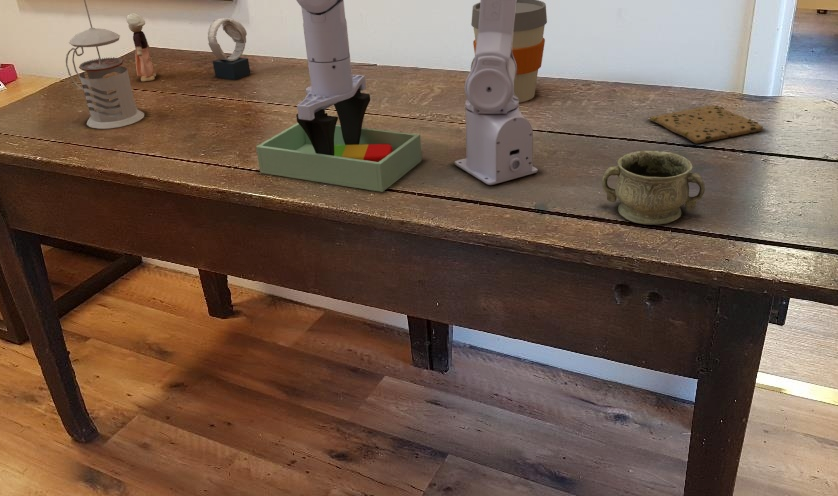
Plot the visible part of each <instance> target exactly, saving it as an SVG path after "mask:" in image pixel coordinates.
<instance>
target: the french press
mask: <svg viewBox="0 0 838 496" xmlns="http://www.w3.org/2000/svg"><path fill="white" fill-rule="evenodd" d="M83 3H84V7H85V9H86V13H87V18H88V21H89V25H90V27H89V28H88V29H85V30H83V31H81V32H78V33H77V34H75V35H74V36H73V37H72V38H71V39H70V40H69V42H68V44H69V45H71V46H73V47H72V48H70V49H69V50H68V52H67V53H66V55H65V67H66V70H67V73H68V76H69V78H70V80H71V81H72V82H73V84H74V85H75V86H76V87H78V89H80V90H82V91H83V93H84V97H85V101H86V105H87V109H88V113H89V117H88V119H87V122H86V125H87V126H88V127H89V128H93V129H113V128H121V127H125V126H129V125H132V124H134V123H137V122H140V121H141V120H142V119H143V118H145V113H144V112H143V111H141V110H140V109H139V108H138V107H137V105H136V104H137V103H136V99H135V98H134V97H135V95H134V92H133V87H132V85H131V79H130V75H129V71H128V68H127V67H125V66H122V65H123V63H124V59H122V58H120V57H114V56H113V57H104V58H103V57H102V58H101V55H100V50H99V47H103V46H107V45H108V46H109V45H111V44H114V43H117V42H119V41H120V38H121V35H120V34H118V33H117V32H115V31H113V30H110V29H106V28H95V27H93V25H92V21H91V17H90V13H89V9H88V5H87V1H86V0H83ZM79 48H80V49H81V53H78V49H79ZM84 48H96V52H97V55H98V58H95V59H89V60H87V61H84V62H81V63H80V64H79V66H78V68H79V69H80V70H81V71H83V72H81V73H80V74H79V72H78V70H77V67H76V63H75V55H76V56H77V57H81V56H82V55H84ZM72 51H73V52H72ZM71 52H72V60H71V61H72V65H73V68H74V72H75V74H76V76H77V77H78V78H79V80H80V83H81V85H79V84H78V83H76V81H75V80H74V78H73V77H72V74H71V72H70V68H69V65H68V59H69V55H70V53H71ZM85 72H86V73H87V77H88V78H86V75H85ZM111 73H118V74H116V75H111V76H108V77H107V76H106V75H108V74H111ZM105 76H106V77H105ZM81 86H82V87H81ZM107 92H109V93H107ZM91 95H93V96H91ZM93 102H94V103H95V104H94V103H93ZM96 110H97V111H96Z"/></svg>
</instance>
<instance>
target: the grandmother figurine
mask: <svg viewBox="0 0 838 496" xmlns="http://www.w3.org/2000/svg"><path fill="white" fill-rule="evenodd" d="M126 23H127V24H128V28H129V30H130V31H131V32H132V33H133V34H132V35H133V36H132V40H133V44H134V48H135V51H134V53H135V56H134V57H135V69H136V70H135V71H136V76H137V77H140V81H141V82H151V81H155V80H156V78H155V77H157V74H156V73H155V72H154V66H153V63H152V59H151V57H150V53H149V49H150V45H149V42H148V39H147V37H146V34H145V32H144V31H143V28H144V26H145V25H146V20H145V19H144V18H143V16H141V15H139V14H137V13H130V14H128V15H127V16H126Z"/></svg>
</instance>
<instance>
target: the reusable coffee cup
mask: <svg viewBox="0 0 838 496" xmlns="http://www.w3.org/2000/svg"><path fill="white" fill-rule="evenodd" d="M471 11H472V12H471V23H470V25H471V26H472V28H473V33H474V40H473V43H472V45H473V51H474V53H475V50H476V43H477V36H478V26H479V13H480V2H477V3H475V4H473V5H472V10H471ZM547 23H548V16H547V4H546V3H545V1H542V0H517V2H516V12H515V21H514V31H513V45H512V53H513V56H514V59H515V61H516V65H517V74H516V77H515V80H514V94H515V95H516V97H518V99H519V103H523V102H527V101H530V100H532V99H533V98H534V97H535V95H536V87H537V81H538V74H539V70H540V69H541V67H542V63H543V57H544V50H545V43H546V39H545V37H544V33H545V25H547Z"/></svg>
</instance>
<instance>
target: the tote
mask: <svg viewBox="0 0 838 496" xmlns="http://www.w3.org/2000/svg"><path fill="white" fill-rule="evenodd" d="M362 144H389V145H391V146H392V149H393V152H392V153H390V154H389V155H388V156H386V157H385V158H383V159H382V160H381V161H379V162H374V161H367V160H360V159H353V158H346V157H339V156H332V155H324V154H317V153H315V150H314V148H313V145H312V143H311V141H310V139H309V137H308V136H307V134H306V132H305V131H304V130H303V128H302V127H301V126H300V125H299V123H298V122H296V123H295V124H293V125H291V126H289V127H288V128H286V129H284V130H282V131H281V132H279V133H277V134H275V135H274V136H272V137H270V138H268V139H267V140H265V141H263V142H261V143H260V144H257V145H256V146H255V149H256V155H257V161H258V167H259V172H260V173H261V174H265V175H273V176H279V177H285V178H292V179H298V180H302V181H303V180H304V181H309V182H316V183H317V182H318V183H323V184H330V185H334V186H341V187H349V188H355V189H360V190H367V191H375V192H380V193H383V192H385V190H387V189H389V188H390V187H391V186H392V185H394V184H395V183H396V182H397V181H398V180H400V179H402V177H404V176H405V175H406V174H408V172H410V171H412V169H414V168H415V167H416V166H417V165H418V164H420V163H421V162H422V161H423V160H422V159H423V158H422V141H421V134H417V133H410V132H402V131H395V130H385V129H379V128H378V129H377V128H370V127H362V129H361V136H360V143H359V145H362ZM334 145H345V143H344V140H343V136H342V131H341V125H340V124H338V123H336V127H335V133H334Z"/></svg>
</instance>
